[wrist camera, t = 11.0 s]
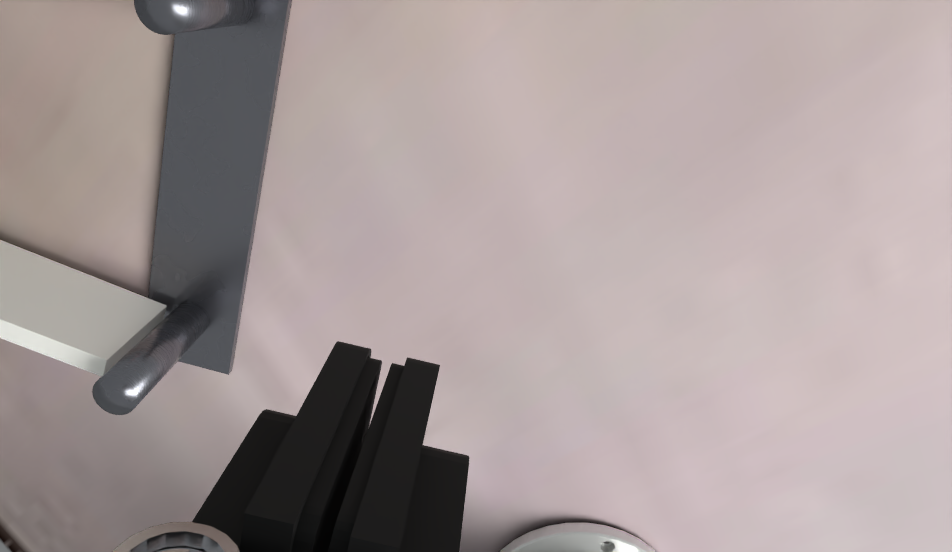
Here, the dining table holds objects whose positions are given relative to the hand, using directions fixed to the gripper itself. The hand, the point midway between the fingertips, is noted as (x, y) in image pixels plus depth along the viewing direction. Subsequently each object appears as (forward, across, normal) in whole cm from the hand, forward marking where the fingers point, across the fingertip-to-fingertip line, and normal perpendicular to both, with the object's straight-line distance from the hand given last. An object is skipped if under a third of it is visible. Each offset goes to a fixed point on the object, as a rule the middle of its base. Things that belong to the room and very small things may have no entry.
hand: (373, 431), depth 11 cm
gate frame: (+25, +19, +5) cm, 32 cm away
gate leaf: (+24, +21, +12) cm, 34 cm away
